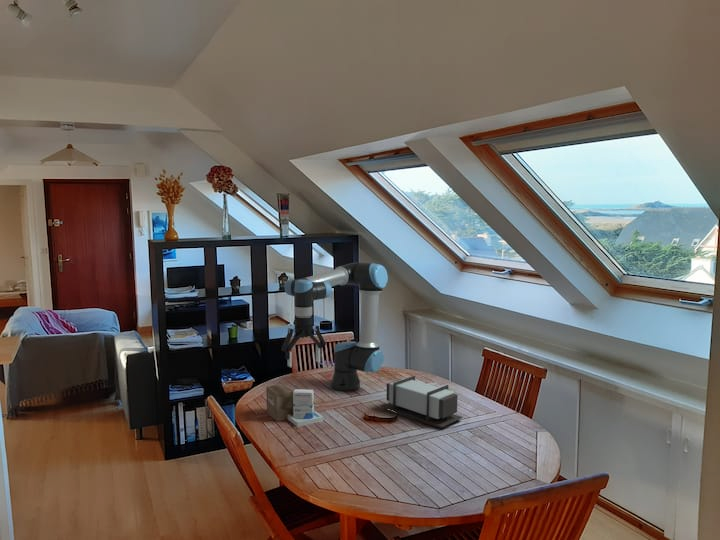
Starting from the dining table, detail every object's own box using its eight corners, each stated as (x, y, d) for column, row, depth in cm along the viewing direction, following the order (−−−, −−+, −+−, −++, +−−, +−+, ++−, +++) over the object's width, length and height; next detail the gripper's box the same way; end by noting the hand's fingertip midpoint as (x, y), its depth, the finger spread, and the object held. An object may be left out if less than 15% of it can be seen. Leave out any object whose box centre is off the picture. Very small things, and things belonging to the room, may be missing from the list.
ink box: (314, 415, 248) (314, 389, 246) (312, 419, 243) (312, 392, 241) (295, 414, 248) (295, 388, 247) (292, 418, 244) (292, 392, 242)
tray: (310, 412, 254) (310, 407, 254) (323, 421, 244) (323, 416, 244) (285, 417, 248) (285, 413, 248) (297, 427, 237) (297, 422, 237)
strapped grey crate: (402, 372, 268) (463, 388, 244) (402, 401, 269) (462, 421, 245) (380, 379, 257) (442, 397, 233) (380, 409, 258) (441, 431, 234)
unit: (283, 409, 258) (282, 383, 256) (294, 417, 248) (293, 391, 246) (265, 412, 253) (265, 386, 252) (276, 421, 243) (275, 394, 242)
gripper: (325, 311, 251) (325, 358, 253) (273, 317, 238) (273, 366, 240) (333, 314, 244) (333, 362, 247) (280, 320, 231) (280, 370, 234)
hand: (304, 364), depth 243 cm, fingers open, 13 cm apart
